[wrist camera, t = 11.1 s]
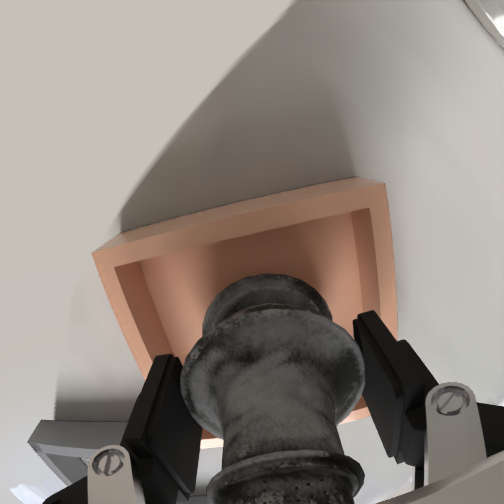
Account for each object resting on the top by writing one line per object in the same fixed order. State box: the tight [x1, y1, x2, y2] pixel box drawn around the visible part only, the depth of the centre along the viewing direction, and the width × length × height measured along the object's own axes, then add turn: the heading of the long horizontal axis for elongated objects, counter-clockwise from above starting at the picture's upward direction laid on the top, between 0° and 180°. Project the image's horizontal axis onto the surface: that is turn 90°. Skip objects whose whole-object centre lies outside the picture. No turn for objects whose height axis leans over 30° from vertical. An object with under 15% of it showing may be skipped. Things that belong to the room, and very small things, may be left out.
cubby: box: [28, 420, 210, 504], centre depth 17 cm, size 12×10×2 cm
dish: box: [92, 177, 397, 449], centre depth 13 cm, size 10×10×3 cm
